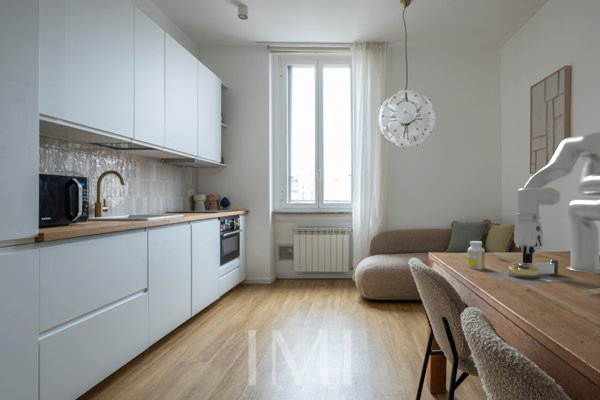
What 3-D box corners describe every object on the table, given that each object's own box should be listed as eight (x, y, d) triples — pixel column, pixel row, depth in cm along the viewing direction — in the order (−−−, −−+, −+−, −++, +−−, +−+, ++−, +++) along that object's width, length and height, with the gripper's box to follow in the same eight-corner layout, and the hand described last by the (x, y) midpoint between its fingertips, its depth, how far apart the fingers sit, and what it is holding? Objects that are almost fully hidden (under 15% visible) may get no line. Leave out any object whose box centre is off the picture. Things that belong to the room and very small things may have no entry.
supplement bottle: (481, 269, 155) (481, 240, 155) (487, 272, 149) (487, 242, 149) (465, 269, 156) (465, 240, 156) (471, 272, 149) (471, 242, 149)
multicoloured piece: (524, 279, 129) (524, 265, 129) (502, 273, 139) (502, 260, 139) (569, 276, 134) (569, 262, 134) (544, 271, 144) (544, 258, 144)
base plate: (521, 273, 147) (522, 269, 147) (569, 284, 128) (569, 280, 128) (482, 276, 142) (482, 272, 142) (525, 288, 123) (525, 283, 123)
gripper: (552, 219, 137) (551, 265, 137) (519, 217, 152) (519, 259, 152) (536, 219, 135) (536, 266, 136) (505, 217, 150) (505, 260, 150)
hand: (527, 262), depth 144 cm, fingers closed
